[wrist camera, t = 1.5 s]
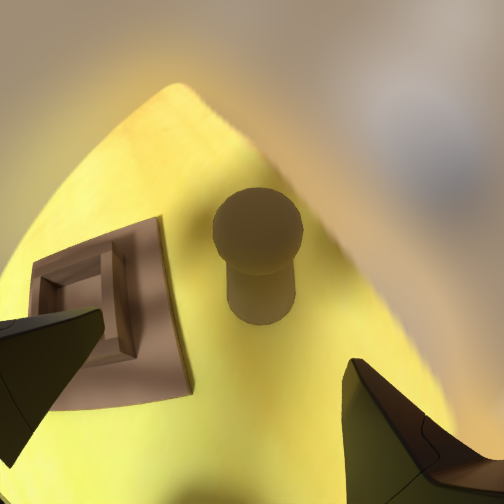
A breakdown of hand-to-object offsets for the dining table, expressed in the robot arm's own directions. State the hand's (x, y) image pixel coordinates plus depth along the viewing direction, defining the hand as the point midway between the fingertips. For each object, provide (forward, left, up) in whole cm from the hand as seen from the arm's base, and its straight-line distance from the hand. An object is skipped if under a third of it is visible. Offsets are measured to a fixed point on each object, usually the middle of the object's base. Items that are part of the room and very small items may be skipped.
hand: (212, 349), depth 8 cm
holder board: (+9, +13, -13) cm, 21 cm away
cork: (+7, -4, -13) cm, 16 cm away
